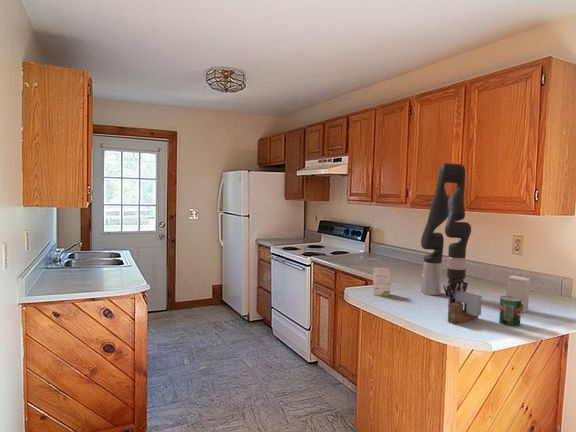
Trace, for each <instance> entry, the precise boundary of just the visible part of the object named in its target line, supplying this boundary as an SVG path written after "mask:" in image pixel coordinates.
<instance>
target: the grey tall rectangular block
mask: <svg viewBox="0 0 576 432" xmlns="http://www.w3.org/2000/svg"><path fill="white" fill-rule="evenodd" d="M452 291H454V290H452ZM452 295H453V293H452ZM447 298H448V299H447V301H448V303H447V305H448V304H450V298H449V297H447ZM456 302H459V303H462V304H464V303H466V304H467V309H466V313H468V314H471V315H475V316H478V317H479V316H481V315H482V295H479V294H476V293H471V292H467V291H466V292H464V291H460V290H457V293H456V295H455V303H456Z"/></svg>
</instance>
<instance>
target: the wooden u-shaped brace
mask: <svg viewBox="0 0 576 432" xmlns="http://www.w3.org/2000/svg"><path fill="white" fill-rule="evenodd" d="M447 308H448V309H447V311H448V312H447V323H448V322H449V323H448V324H451V323H452V324H451V325H457V324H460V323H466V322H471V321H475V320H478V319H479V316H475V315H471V314H468V313H466V309H467V304H466V303H463V302H462V303H459V302H456V303H451V304H448V303H447Z"/></svg>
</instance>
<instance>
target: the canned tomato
mask: <svg viewBox="0 0 576 432" xmlns="http://www.w3.org/2000/svg"><path fill="white" fill-rule="evenodd" d="M521 315H522V313H521V299H520V298H517V297H513V296H506V295H501V296H499V314H498V316H499V318H498V319H499V320H498V323H499V324H501V325H503V326H506V327H510V328H511V327H512V328H518V327H520V326H521Z"/></svg>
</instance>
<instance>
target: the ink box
mask: <svg viewBox="0 0 576 432" xmlns="http://www.w3.org/2000/svg"><path fill="white" fill-rule="evenodd" d="M372 283H373V284H372V285H373V286H372V287H373V288H372V294H373V296H381V297H382V296H383V297H390V293H391V272H390V268H385V267H374V268H373V280H372Z"/></svg>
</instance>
